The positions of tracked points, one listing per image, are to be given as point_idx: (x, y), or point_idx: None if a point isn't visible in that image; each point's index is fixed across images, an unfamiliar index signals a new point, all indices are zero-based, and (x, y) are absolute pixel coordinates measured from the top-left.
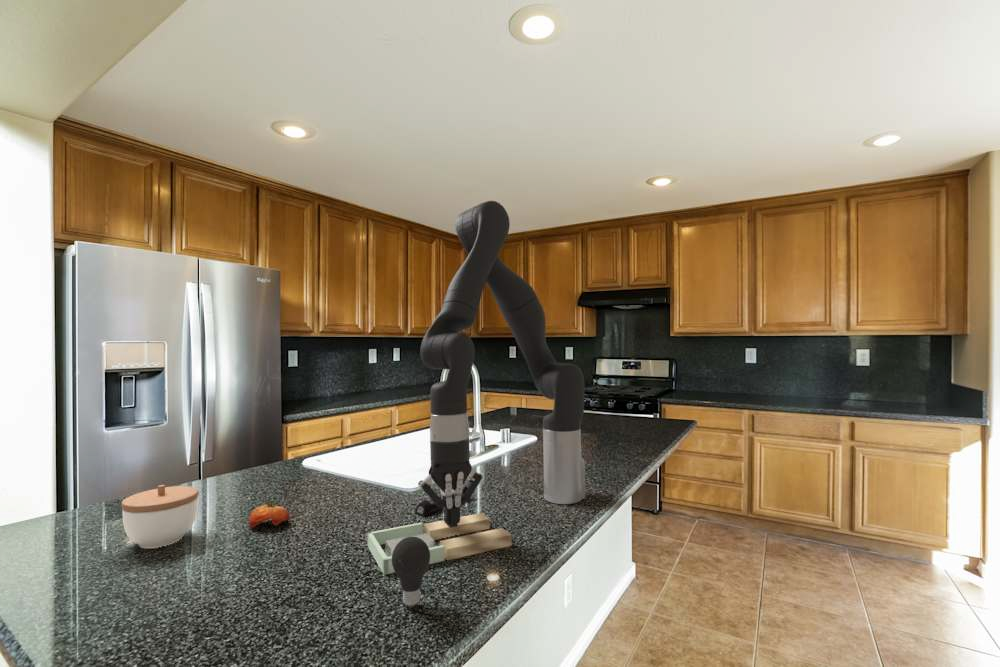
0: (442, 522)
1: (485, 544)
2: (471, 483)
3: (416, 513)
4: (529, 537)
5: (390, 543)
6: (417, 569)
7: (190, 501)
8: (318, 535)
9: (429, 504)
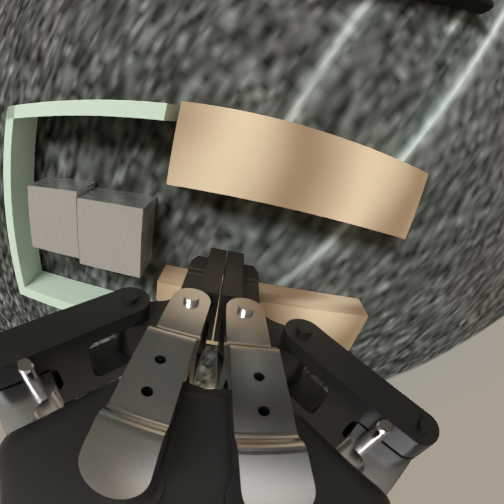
0: (257, 137)
1: None
2: (334, 437)
3: None
4: (395, 328)
5: (34, 212)
6: None
7: None
8: (8, 3)
9: None
